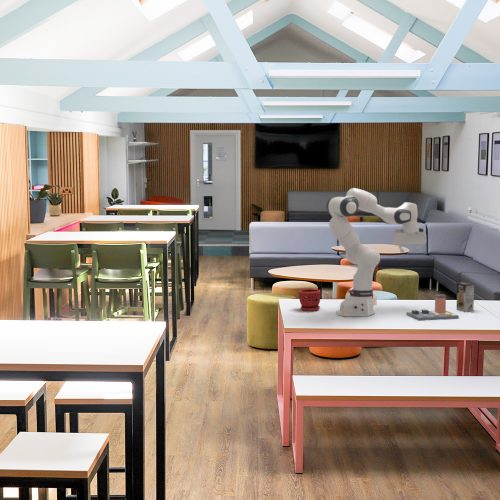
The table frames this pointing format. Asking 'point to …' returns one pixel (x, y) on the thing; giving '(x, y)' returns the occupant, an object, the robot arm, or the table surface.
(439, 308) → the block
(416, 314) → the switch board
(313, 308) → the plant pot
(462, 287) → the coffee box
